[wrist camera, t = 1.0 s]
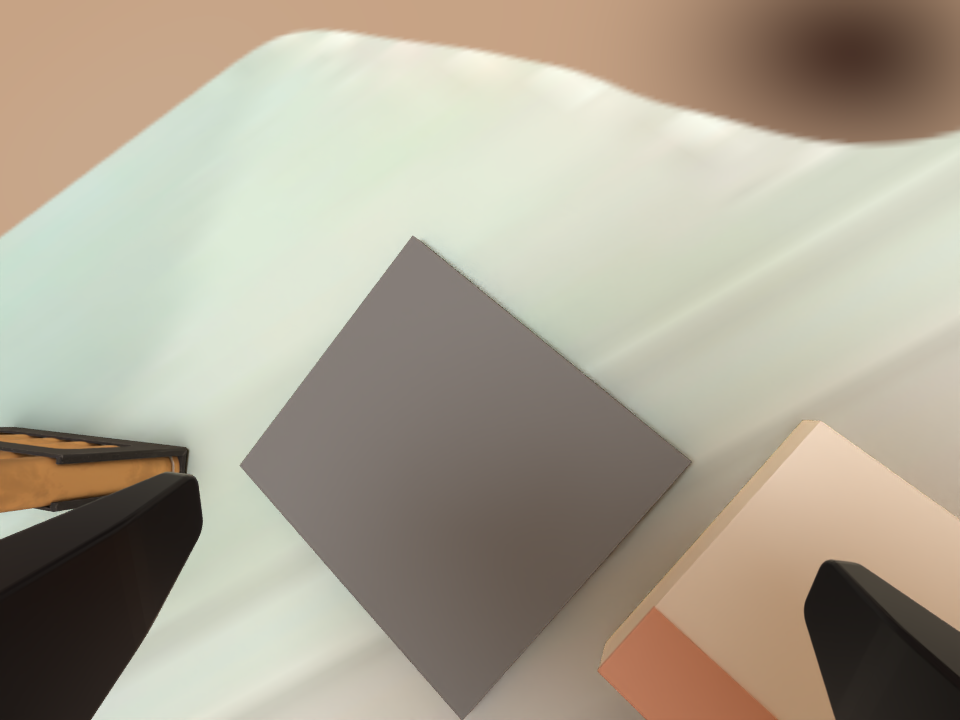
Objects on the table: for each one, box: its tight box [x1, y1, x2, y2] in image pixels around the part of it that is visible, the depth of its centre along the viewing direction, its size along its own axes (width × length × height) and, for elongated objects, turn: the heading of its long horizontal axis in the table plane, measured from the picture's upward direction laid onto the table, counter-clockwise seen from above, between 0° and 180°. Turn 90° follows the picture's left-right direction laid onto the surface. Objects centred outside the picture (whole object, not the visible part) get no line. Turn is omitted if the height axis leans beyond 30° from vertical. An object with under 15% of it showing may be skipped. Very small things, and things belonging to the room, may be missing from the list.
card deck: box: [598, 420, 960, 720], centre depth 15 cm, size 6×9×2 cm, turn 140°
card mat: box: [240, 236, 691, 720], centre depth 19 cm, size 12×11×1 cm
